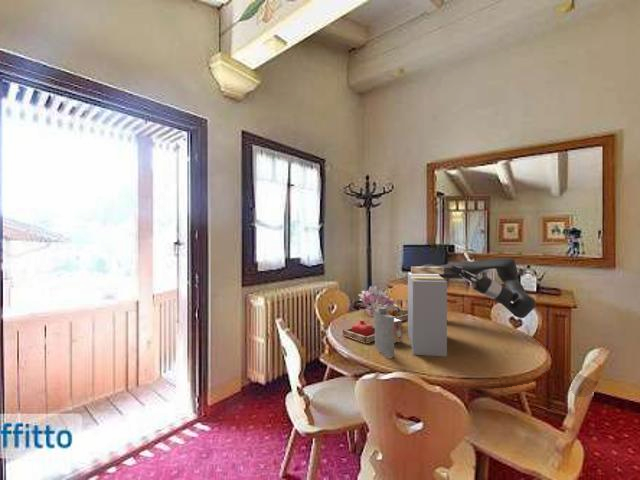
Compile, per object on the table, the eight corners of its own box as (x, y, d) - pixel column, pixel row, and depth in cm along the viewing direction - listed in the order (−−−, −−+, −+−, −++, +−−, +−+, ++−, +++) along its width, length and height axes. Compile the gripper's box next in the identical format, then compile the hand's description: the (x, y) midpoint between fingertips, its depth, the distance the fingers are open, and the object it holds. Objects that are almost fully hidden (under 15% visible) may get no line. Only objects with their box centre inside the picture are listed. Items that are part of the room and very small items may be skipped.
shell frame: (363, 314, 215) (363, 309, 215) (383, 309, 228) (383, 305, 228) (397, 323, 195) (397, 317, 195) (417, 316, 208) (417, 312, 208)
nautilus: (407, 321, 200) (383, 324, 198) (395, 310, 221) (373, 312, 219) (407, 308, 199) (383, 311, 197) (395, 299, 220) (372, 301, 218)
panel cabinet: (435, 333, 175) (435, 271, 174) (446, 356, 144) (447, 281, 143) (407, 332, 178) (407, 271, 177) (413, 354, 147) (412, 280, 146)
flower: (412, 326, 183) (400, 282, 193) (382, 329, 170) (371, 282, 180) (387, 334, 198) (376, 293, 207) (358, 337, 185) (348, 293, 195)
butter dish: (346, 336, 173) (346, 319, 173) (361, 331, 181) (361, 315, 180) (362, 341, 164) (362, 324, 164) (378, 336, 172) (378, 320, 172)
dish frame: (341, 335, 173) (341, 329, 173) (363, 329, 184) (363, 323, 184) (366, 344, 160) (366, 338, 160) (388, 336, 171) (388, 331, 170)
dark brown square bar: (461, 273, 152) (461, 266, 152) (463, 274, 149) (463, 267, 149) (411, 273, 156) (410, 266, 156) (411, 273, 153) (411, 267, 153)
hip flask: (395, 358, 143) (395, 311, 142) (386, 359, 142) (386, 311, 141) (380, 345, 158) (379, 303, 158) (372, 346, 157) (371, 303, 157)
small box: (389, 344, 159) (389, 322, 159) (381, 341, 164) (381, 319, 164) (402, 341, 163) (402, 320, 163) (394, 338, 168) (394, 317, 168)
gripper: (487, 277, 155) (452, 258, 157) (497, 282, 141) (459, 261, 144) (478, 291, 156) (444, 272, 158) (487, 297, 142) (450, 276, 145)
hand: (451, 267), depth 151 cm, fingers closed on dark brown square bar, 3 cm apart
